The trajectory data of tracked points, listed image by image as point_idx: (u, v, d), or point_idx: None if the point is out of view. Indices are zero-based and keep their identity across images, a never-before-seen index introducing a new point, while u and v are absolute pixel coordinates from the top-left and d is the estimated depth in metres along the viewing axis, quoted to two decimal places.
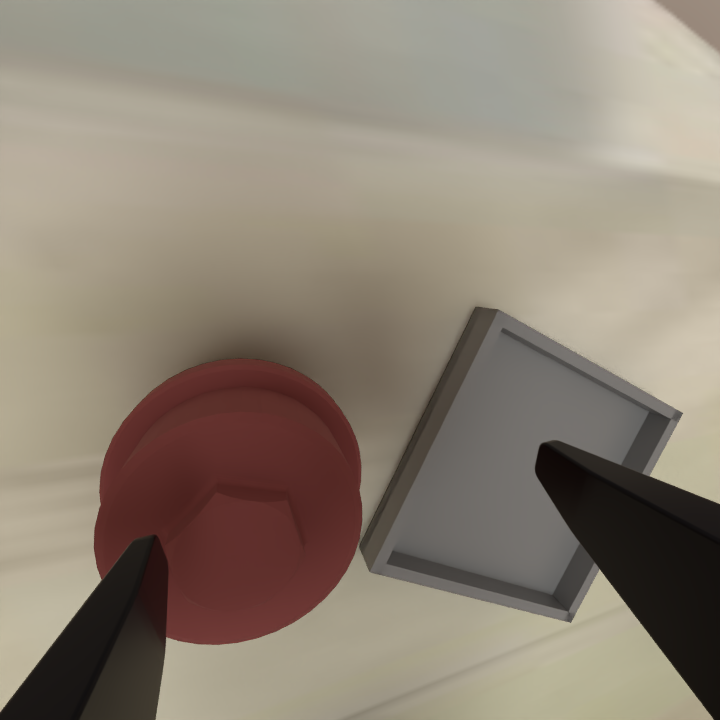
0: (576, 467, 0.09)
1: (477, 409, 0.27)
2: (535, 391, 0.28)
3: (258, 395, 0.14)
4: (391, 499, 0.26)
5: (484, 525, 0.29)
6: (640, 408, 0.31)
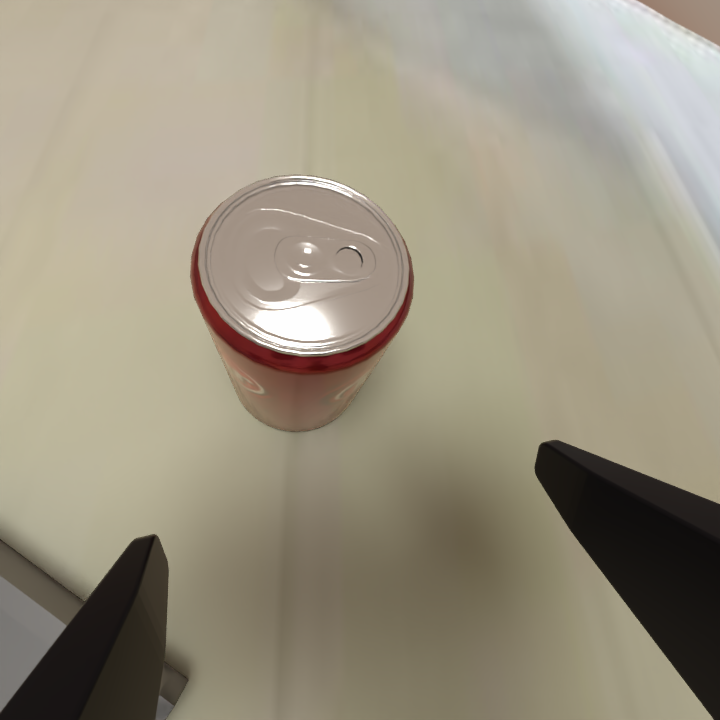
0: (576, 467, 0.09)
1: None
2: None
3: None
4: None
5: None
6: None
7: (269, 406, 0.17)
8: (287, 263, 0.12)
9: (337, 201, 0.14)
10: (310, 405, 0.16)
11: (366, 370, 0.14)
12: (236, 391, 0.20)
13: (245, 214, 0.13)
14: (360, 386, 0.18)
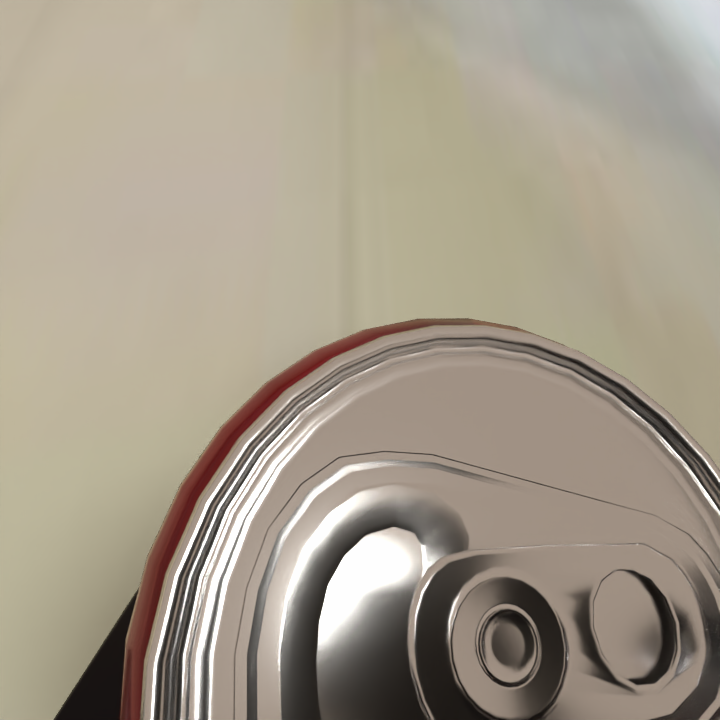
0: None
1: None
2: None
3: None
4: None
5: None
6: None
7: None
8: (453, 677, 0.04)
9: (554, 401, 0.05)
10: None
11: None
12: None
13: (305, 482, 0.04)
14: None
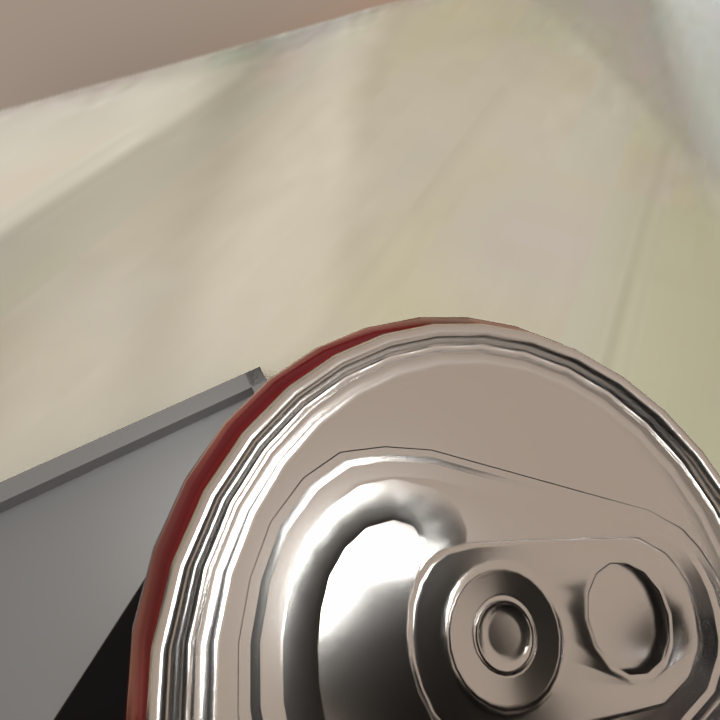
0: None
1: None
2: (56, 544, 0.18)
3: None
4: None
5: None
6: (236, 404, 0.21)
7: None
8: (451, 666, 0.04)
9: (551, 399, 0.05)
10: None
11: None
12: None
13: (306, 477, 0.04)
14: None
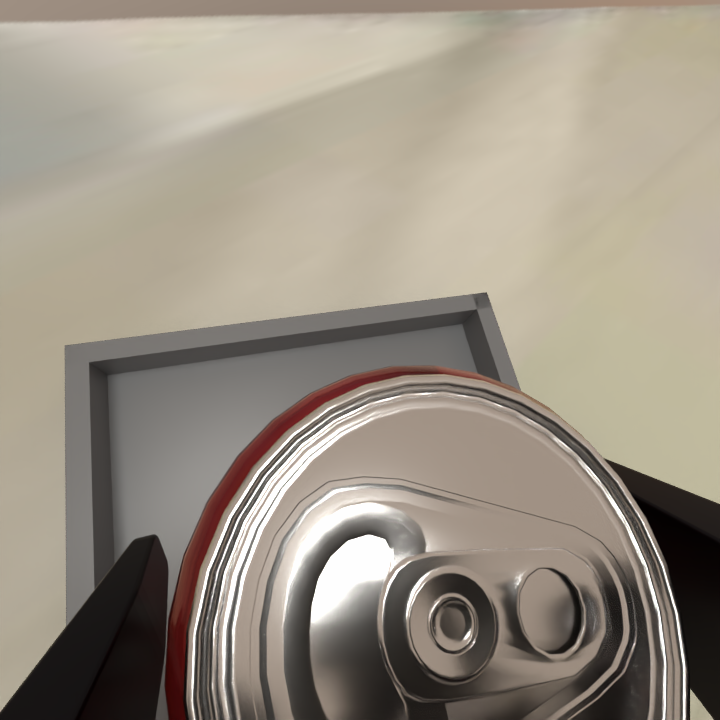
0: None
1: (174, 492, 0.16)
2: (258, 406, 0.17)
3: None
4: None
5: None
6: (444, 328, 0.20)
7: None
8: (410, 645, 0.05)
9: (499, 436, 0.06)
10: None
11: None
12: None
13: (302, 500, 0.05)
14: None
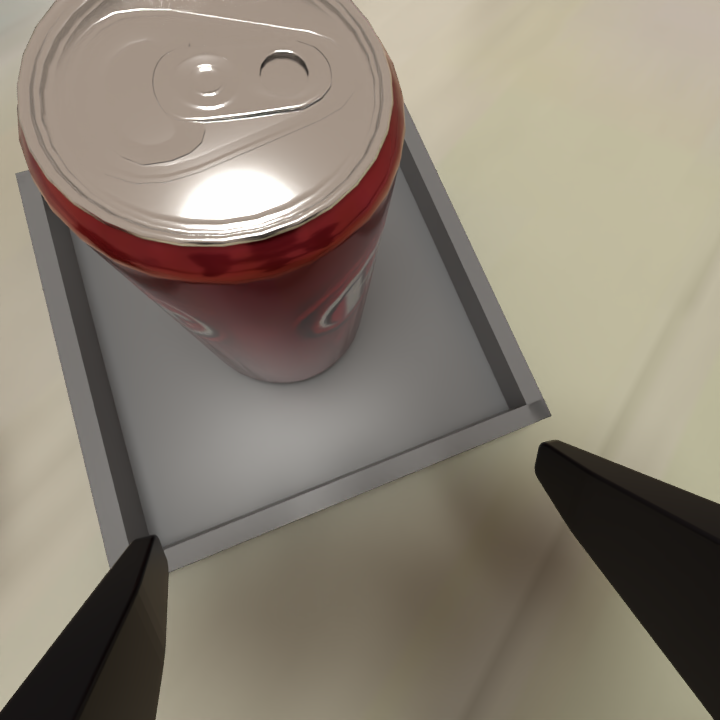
0: (576, 467, 0.09)
1: (138, 289, 0.19)
2: None
3: None
4: None
5: (293, 403, 0.18)
6: None
7: (236, 352, 0.12)
8: (177, 94, 0.07)
9: None
10: (287, 341, 0.11)
11: (352, 271, 0.09)
12: None
13: (94, 23, 0.07)
14: (357, 307, 0.13)
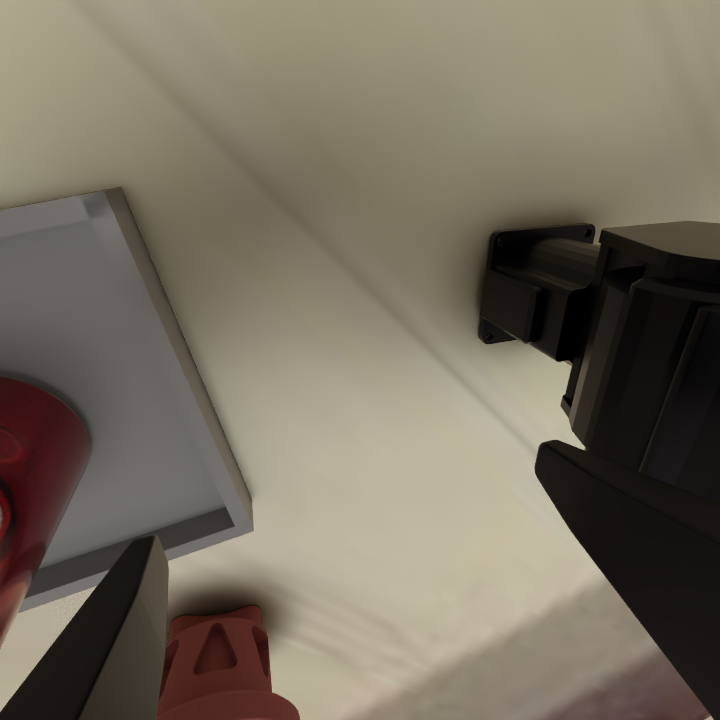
0: (576, 467, 0.09)
1: None
2: None
3: None
4: None
5: (112, 427, 0.19)
6: None
7: (46, 546, 0.15)
8: None
9: None
10: (22, 540, 0.13)
11: None
12: None
13: None
14: None
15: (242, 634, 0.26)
